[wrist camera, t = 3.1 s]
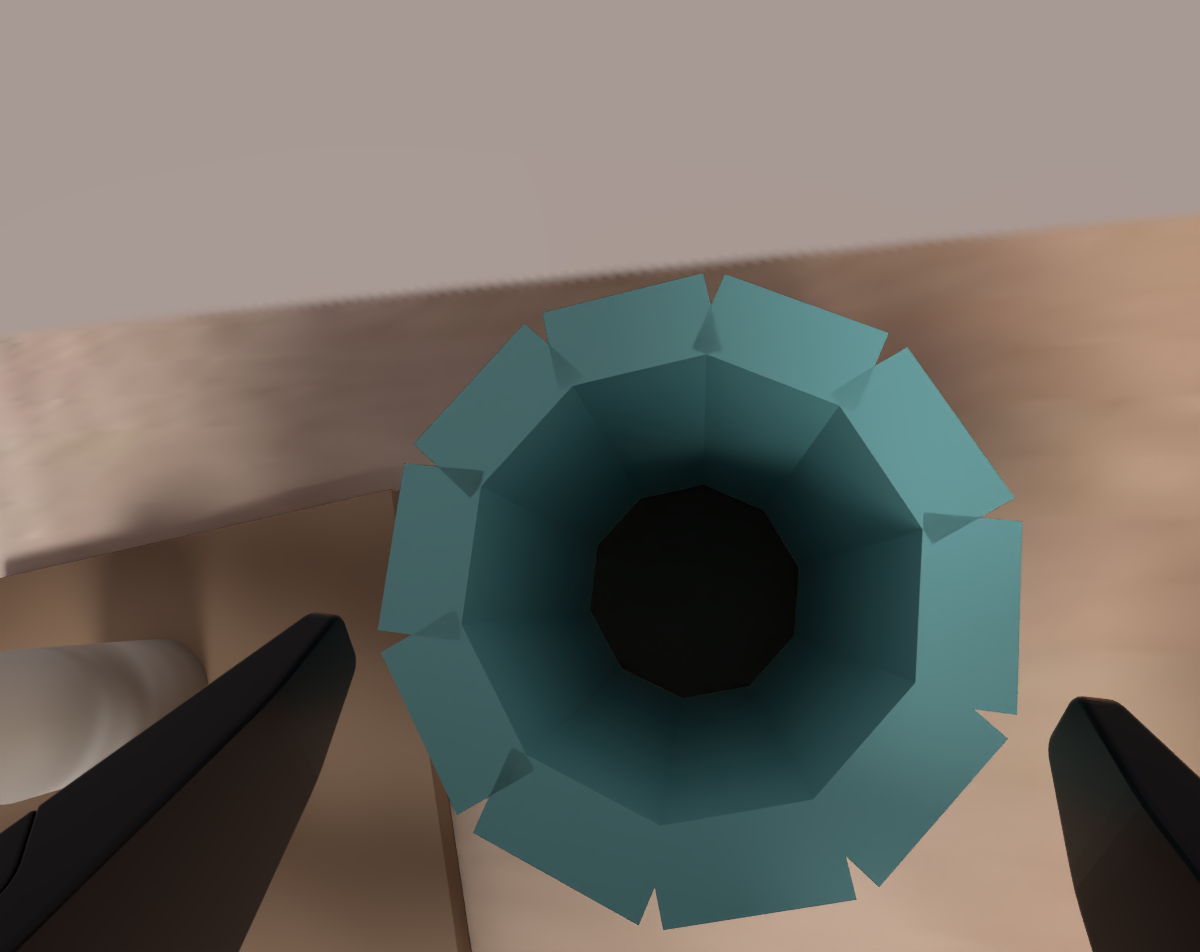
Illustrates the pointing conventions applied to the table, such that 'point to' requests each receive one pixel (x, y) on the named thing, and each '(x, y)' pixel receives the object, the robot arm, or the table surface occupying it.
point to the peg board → (202, 654)
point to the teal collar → (795, 675)
